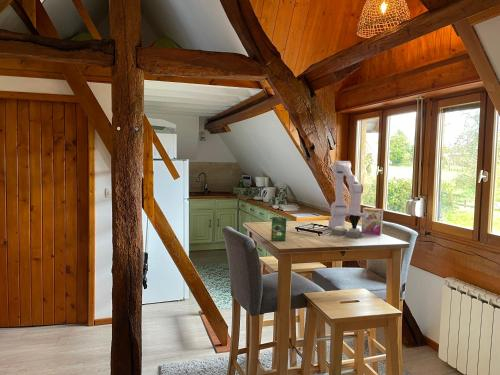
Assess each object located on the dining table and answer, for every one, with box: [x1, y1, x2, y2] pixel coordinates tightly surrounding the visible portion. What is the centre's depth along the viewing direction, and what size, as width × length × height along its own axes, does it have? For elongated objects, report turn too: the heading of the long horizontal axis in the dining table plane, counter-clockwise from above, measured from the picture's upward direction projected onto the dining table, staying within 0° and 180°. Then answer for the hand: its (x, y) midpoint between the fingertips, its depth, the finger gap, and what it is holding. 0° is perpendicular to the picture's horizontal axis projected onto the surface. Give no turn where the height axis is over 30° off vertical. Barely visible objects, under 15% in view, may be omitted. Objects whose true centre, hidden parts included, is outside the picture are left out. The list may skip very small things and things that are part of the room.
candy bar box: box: [361, 207, 384, 236], centre depth 233 cm, size 11×5×16 cm, turn 59°
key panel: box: [329, 228, 365, 240], centre depth 226 cm, size 18×9×4 cm, turn 51°
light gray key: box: [348, 227, 361, 233], centre depth 223 cm, size 4×4×3 cm
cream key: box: [334, 226, 346, 231], centre depth 229 cm, size 4×4×3 cm
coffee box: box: [270, 216, 287, 242], centre depth 217 cm, size 8×3×13 cm, turn 88°
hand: (354, 228), depth 223 cm, fingers closed, pressing on light gray key
